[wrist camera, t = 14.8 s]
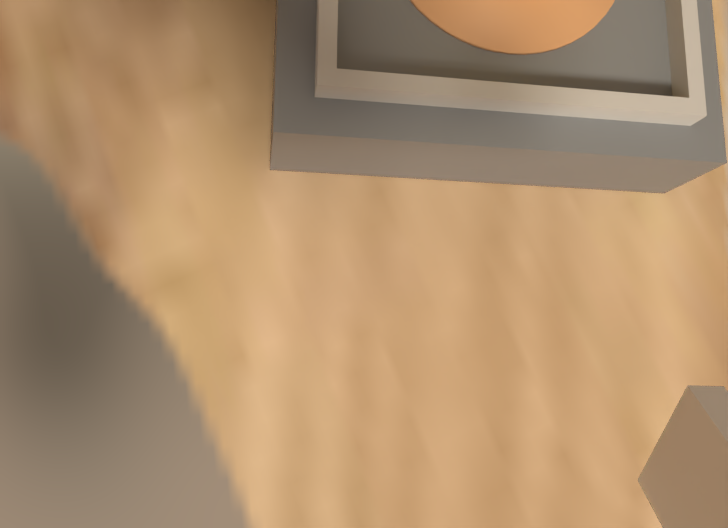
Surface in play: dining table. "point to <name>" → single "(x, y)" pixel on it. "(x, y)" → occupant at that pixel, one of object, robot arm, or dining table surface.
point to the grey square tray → (499, 91)
